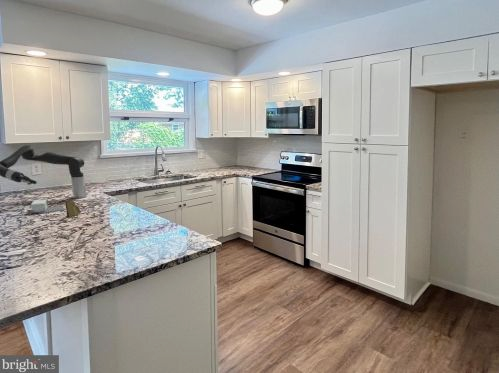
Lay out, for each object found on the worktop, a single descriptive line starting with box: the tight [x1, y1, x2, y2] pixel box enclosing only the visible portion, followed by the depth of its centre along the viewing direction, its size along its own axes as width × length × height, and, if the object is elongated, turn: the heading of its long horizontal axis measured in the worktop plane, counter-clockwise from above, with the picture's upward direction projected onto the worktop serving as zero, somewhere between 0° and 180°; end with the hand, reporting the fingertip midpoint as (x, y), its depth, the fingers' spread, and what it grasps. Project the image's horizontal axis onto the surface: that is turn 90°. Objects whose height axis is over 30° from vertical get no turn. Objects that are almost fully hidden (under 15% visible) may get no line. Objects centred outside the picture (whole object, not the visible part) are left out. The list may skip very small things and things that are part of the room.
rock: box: [64, 200, 81, 218], centre depth 220 cm, size 11×9×10 cm
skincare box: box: [30, 199, 48, 213], centre depth 233 cm, size 8×6×15 cm
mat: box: [36, 205, 66, 215], centre depth 235 cm, size 16×15×1 cm
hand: (35, 182), depth 247 cm, fingers closed
